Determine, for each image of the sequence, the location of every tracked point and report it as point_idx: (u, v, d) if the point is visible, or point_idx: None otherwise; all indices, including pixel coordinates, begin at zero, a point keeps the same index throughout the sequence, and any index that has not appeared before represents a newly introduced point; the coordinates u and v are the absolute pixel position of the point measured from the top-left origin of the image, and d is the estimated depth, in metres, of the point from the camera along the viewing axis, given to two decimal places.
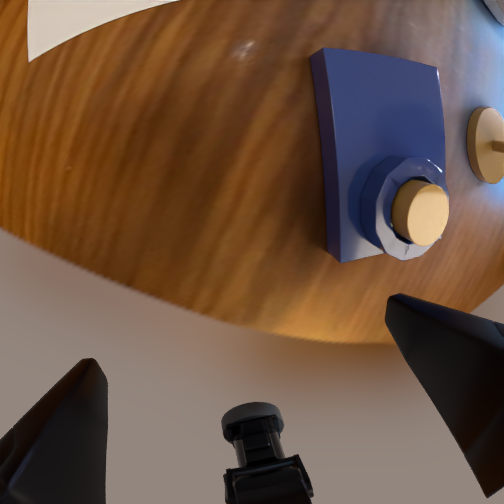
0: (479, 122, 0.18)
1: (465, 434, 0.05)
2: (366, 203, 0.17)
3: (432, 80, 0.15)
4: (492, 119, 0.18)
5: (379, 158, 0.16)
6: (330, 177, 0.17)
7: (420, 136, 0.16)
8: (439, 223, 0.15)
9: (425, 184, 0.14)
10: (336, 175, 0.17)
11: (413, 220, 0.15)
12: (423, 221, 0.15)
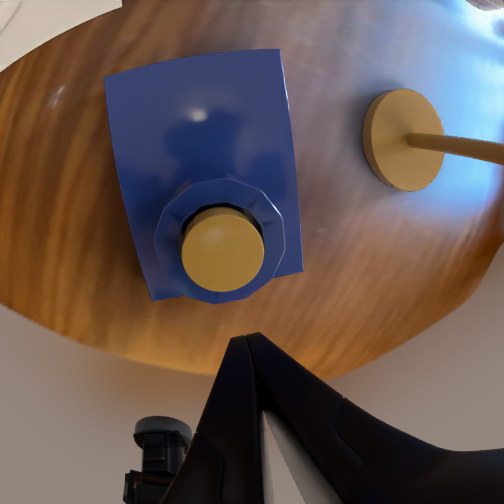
0: (379, 110, 0.16)
1: None
2: None
3: (268, 67, 0.13)
4: (407, 104, 0.16)
5: (176, 186, 0.15)
6: None
7: (243, 146, 0.15)
8: (246, 263, 0.14)
9: (208, 216, 0.13)
10: (126, 212, 0.15)
11: (193, 263, 0.14)
12: (212, 263, 0.14)
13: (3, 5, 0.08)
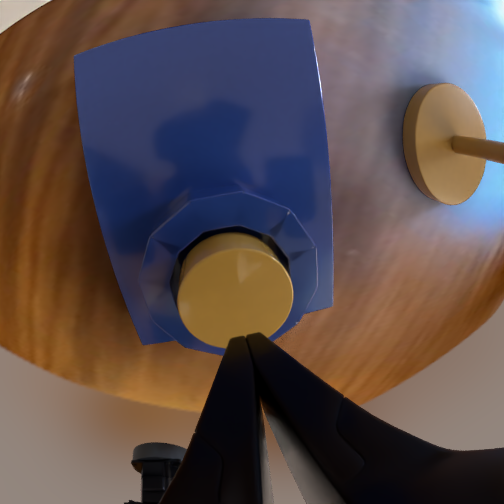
0: (424, 107, 0.12)
1: None
2: None
3: (295, 42, 0.09)
4: (452, 102, 0.12)
5: (169, 200, 0.11)
6: None
7: (262, 146, 0.11)
8: (268, 312, 0.10)
9: (215, 250, 0.09)
10: (104, 236, 0.11)
11: (194, 314, 0.09)
12: (221, 314, 0.10)
13: None
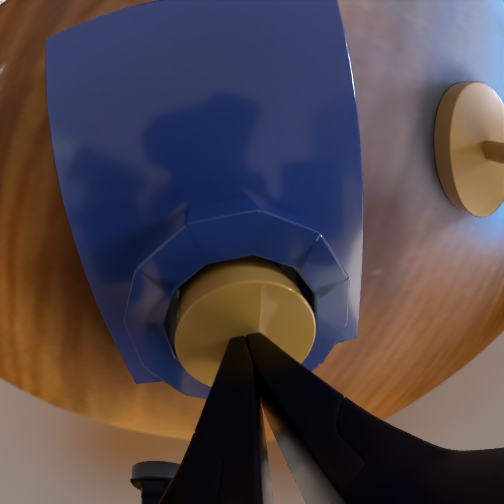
0: (458, 107, 0.10)
1: None
2: None
3: (320, 20, 0.07)
4: (484, 103, 0.10)
5: (161, 218, 0.08)
6: None
7: (282, 148, 0.08)
8: None
9: (222, 282, 0.07)
10: (83, 261, 0.09)
11: (196, 357, 0.07)
12: None
13: None
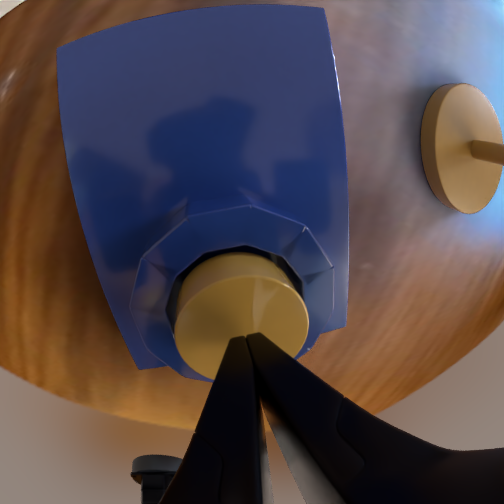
0: (443, 108, 0.11)
1: None
2: None
3: (309, 31, 0.08)
4: (471, 104, 0.11)
5: (164, 213, 0.09)
6: None
7: (272, 150, 0.09)
8: (279, 345, 0.08)
9: (219, 276, 0.07)
10: (91, 253, 0.10)
11: (195, 349, 0.08)
12: None
13: None
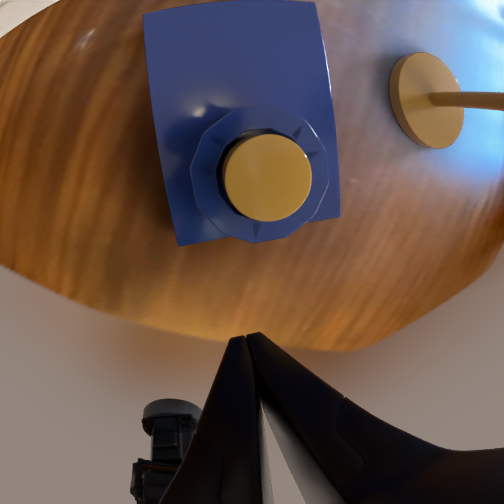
0: (405, 68, 0.15)
1: None
2: None
3: (305, 17, 0.12)
4: (429, 67, 0.15)
5: (214, 117, 0.14)
6: None
7: (284, 83, 0.14)
8: (293, 189, 0.13)
9: (256, 135, 0.12)
10: (158, 145, 0.14)
11: (237, 185, 0.12)
12: (258, 186, 0.12)
13: None
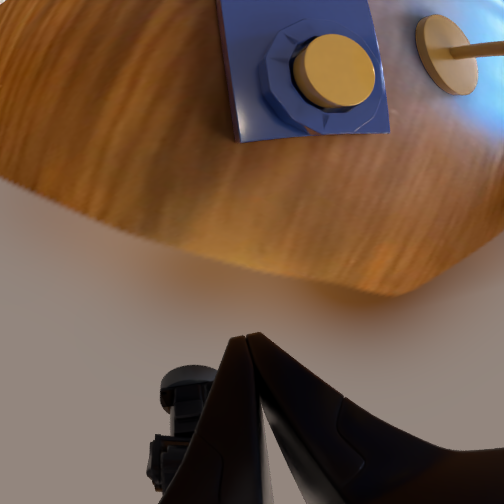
0: (427, 24, 0.14)
1: None
2: (261, 67, 0.13)
3: None
4: (446, 27, 0.14)
5: (280, 30, 0.13)
6: (225, 54, 0.14)
7: (336, 15, 0.12)
8: (361, 80, 0.12)
9: (328, 34, 0.11)
10: (226, 47, 0.13)
11: (315, 68, 0.11)
12: (332, 72, 0.11)
13: None
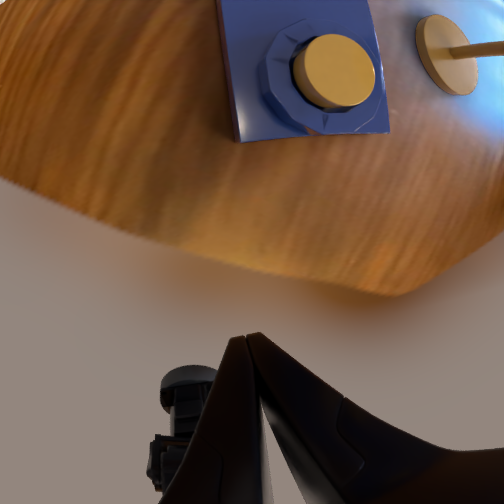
0: (427, 25, 0.14)
1: None
2: (261, 67, 0.13)
3: None
4: (446, 27, 0.14)
5: (280, 30, 0.13)
6: (225, 54, 0.14)
7: (336, 15, 0.12)
8: (361, 80, 0.12)
9: (328, 34, 0.11)
10: (226, 47, 0.13)
11: (315, 68, 0.11)
12: (332, 72, 0.11)
13: None
